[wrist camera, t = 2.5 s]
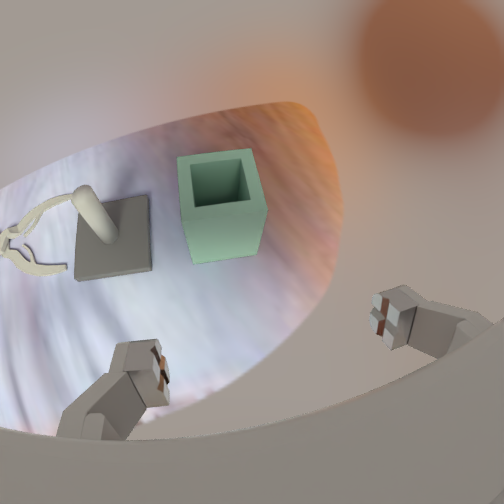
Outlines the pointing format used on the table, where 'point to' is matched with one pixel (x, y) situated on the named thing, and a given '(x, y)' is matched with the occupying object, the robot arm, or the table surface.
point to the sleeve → (221, 204)
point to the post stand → (110, 236)
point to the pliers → (2, 240)
